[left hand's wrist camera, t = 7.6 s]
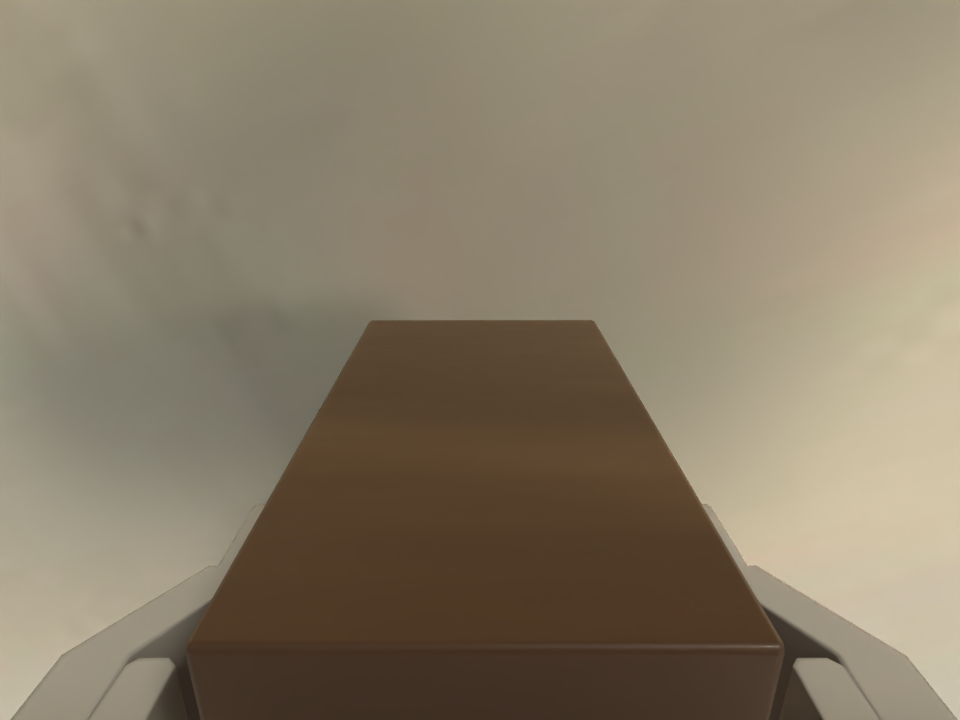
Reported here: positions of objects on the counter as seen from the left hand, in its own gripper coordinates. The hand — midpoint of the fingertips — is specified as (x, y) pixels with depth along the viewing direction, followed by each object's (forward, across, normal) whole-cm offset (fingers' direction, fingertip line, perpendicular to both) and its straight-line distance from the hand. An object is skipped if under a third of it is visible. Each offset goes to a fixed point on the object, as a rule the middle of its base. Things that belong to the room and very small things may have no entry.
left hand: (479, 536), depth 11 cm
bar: (+3, 0, +10) cm, 10 cm away
